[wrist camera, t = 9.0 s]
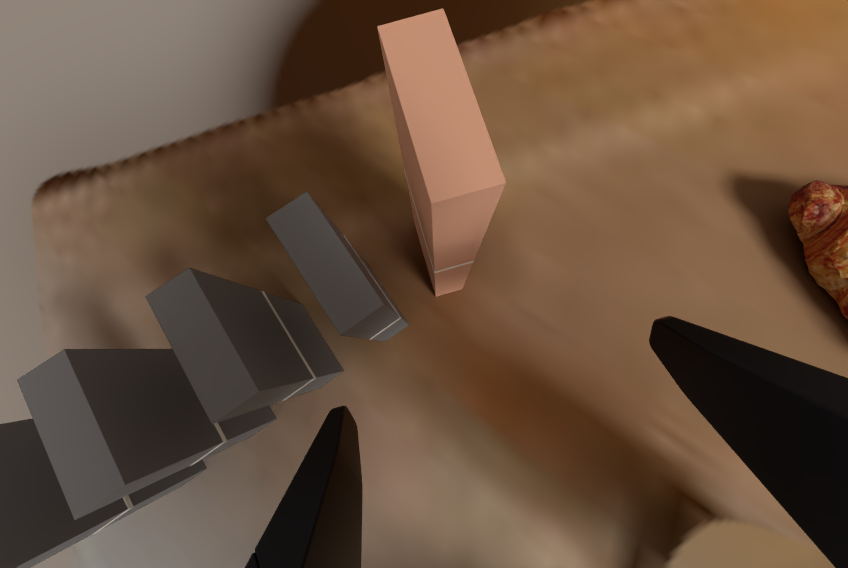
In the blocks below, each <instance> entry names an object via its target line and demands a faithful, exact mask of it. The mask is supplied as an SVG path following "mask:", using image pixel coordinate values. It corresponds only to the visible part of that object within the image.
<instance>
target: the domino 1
mask: <svg viewBox="0 0 848 568" xmlns="http://www.w3.org/2000/svg"><path fill="white" fill-rule="evenodd" d="M17 381H18V384H19V386H20V388H21V391H22V393H23V396H24V398H25V401H26V403H27V406H28V408H29V410H30V413H31V415H32V418H33V420H34V423H35V425H36V427H37V430H38V432H39V435H40V437H41V440H42V442H43V444H44V447H45V449H46V452H47V454H48V457H49V459H50V462H51V464H52V466H53V469H54V471H55V474H56V476H57V479H58V481H59V483H60V486H61V488H62V491H63V493H64V496H65V498H66V500H67V503H68V505H69V508H70V510H71V513H72V515H73V517H74V520H76V519H78V518H80V517H83V516H85V515H87V514H89V513H91V512H93V511H95V510H97V509H99V508H102V507H104V506H106V505H108V504H110V503H112V502H114V501H116V500H118V499H121V498H123V497H125V496H127V495H129V494H131V493H133V492H135V491H137V490H140V489H142V488H144V487H146V486H148V485H150V484H152V483H154V482H156V481H159V480H161V479H163V478H165V477H167V476H169V475H171V474H173V473H175V472H178V471H180V470H182V469H184V468H186V467H188V466H191V465H193V464H195V463H197V462H199V461H201V460H203V459H205V458H207V457H209V456H211V455H213V454H216V453H218V452H220V451H222V450H224V449H226V448H228V447H230V446H232V445H235V444H237V443H239V442H241V441H243V440H245V439H247V438H249V437H251V436H253V435H254V434H256V433H257V432H259V431H260V430H261V429H263V428H264V427H266V426H267V425H268V424H270V423H271V422H273V421H274V420H276V417H275V415H274V413H273V411H272V410H271V408H270V406H269V405H268V406H265V407H262V408H259V409H256V410H253V411H250V412H247V413H244V414H241V415H238V416H235V417H232V418H229V419H226V420H223V421H221V422H218V423H215V424H212V423H211V421H210V420H209V418H208V416H207V414H206V412H205V410H204V408H203V406H202V404H201V402H200V400H199V398H198V397H197V395H196V393H195V391H194V389H193V387H192V385H191V383H190V381H189V379H188V377H187V375H186V374H185V372H184V370H183V368H182V366H181V364H180V362H179V360H178V358H177V356H176V354H175V353H174V351H173V349H64V350H62V351H61V352H59V353H58V354H56V355H55V356H53V357H51V358H50V359H48V360H47V361H45V362H44V363H42V364H41V365H39V366H38V367H36V368H35V369H33V370H31V371H30V372H28V373H27V374H25V375H24V376H22V377H21V378H19V379H18V380H17Z"/></svg>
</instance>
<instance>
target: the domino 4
mask: <svg viewBox="0 0 848 568" xmlns="http://www.w3.org/2000/svg"><path fill="white" fill-rule="evenodd" d="M266 220H267V222H268V223H269V225H270V226H271V228H272V229H273V231H274V232H275V234H276V236H277V237H278V239H279V240H280V242H281V243H282V245H283V247H284V248H285V250H286V251H287V253H288V254H289V256H290V258H291V259H292V261H293V262H294V264H295V265H296V267H297V268H298V270H299V272H300V273H301V275H302V276H303V278H304V279H305V281H306V283H307V284H308V286H309V287H310V289H311V290H312V292H313V293H314V295H315V297H316V298H317V300H318V301H319V303H320V304H321V306H322V308H323V309H324V311H325V312H326V314H327V315H328V317H329V319H330V320H331V322H332V323H333V325H334V326H335V328H336V329H337V331H338V333H339V334H340V335H343V336H350V337H358V338H365V339H369V340H371V339H372V340H380V341H387V340H389V339H390V338H391V337H393V336H394V335H396V334H397V333H398V332H400V331H401V330H403V329H404V328H406V327H407V326H408V325H409V324H408V323H407V321H406V320H405V318H404V317H403V315H402V314H401V312H400V311H399V310H398V308H397V307H396V305H395V304H394V302H393V301H392V299H391V298H390V297H389V295H388V294H387V292H386V291H385V289H384V288H383V286H382V285H381V283H380V282H379V281H378V279H377V278H376V276H375V275H374V273H373V272H372V270H371V269H370V268H369V266H368V265H367V263H366V262H365V260H364V259H363V258H362V257H361V256H360V255H359V253H358V252H357V251H356V250H355V249H354V247H353V246H352V245H351V244H350V243H349V241H348V240H347V239H346V237H345V236H344V235H343V234H342V233H341V232H340V231H339V229H338V228H337V227H336V226H335V225H334V223H333V222H332V221H331V220H330V219H329V217H328V216H327V215H326V214H325V213H324V211H323V210H322V209H321V208H320V207H319V205H318V204H317V203H316V202H315V201H314V199H313V198H312V197H311V196H310V195H309V193H308V192H305V193H303V194H302V195H300V196H299V197H297V198H296V199H294V200H293V201H291V202H290V203H288V204H287V205H285V206H283V207H282V208H280V209H279V210H277V211H276V212H274V213H273V214H271V215H270V216H268V217H267V218H266Z"/></svg>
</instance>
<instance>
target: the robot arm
mask: <svg viewBox="0 0 848 568" xmlns="http://www.w3.org/2000/svg"><path fill="white" fill-rule="evenodd" d="M649 343H650V346H651V348H652V350H653V351H654V352H655V354H656V355H657V357H658V358H659V359H660V361H661V362H662V364H663V365H664V366H665V368H666V369H667V371H668V372H669V373H670V375H671V376H672V378H673V379H674V380H675V382H676V383H677V385H678V386H679V387H680V389H681V390H682V391H683V393H684V394H685V395H686V396H687V398H688V399H689V400H690V401H691V402H692V404H693V405H694V406H695V407H696V408H697V409H698V410H699V412H700V413H701V414H702V415H703V416H704V417H705V418H706V420H707V421H708V422H709V423H710V424H711V425H712V426H713V428H714V429H715V430H716V431H717V432H718V433H719V435H720V436H721V437H722V438H723V439H724V440H725V441H726V443H727V444H728V445H729V446H730V447H731V448H732V449H733V451H734V452H735V453H736V454H737V455H738V456H739V457H740V459H741V460H742V461H743V462H744V463H745V464H746V465H747V467H748V468H749V469H750V470H751V471H752V472H753V474H754V475H755V476H756V477H757V478H758V479H759V480H760V482H761V483H762V484H763V485H764V486H765V487H766V488H767V490H768V491H769V492H770V493H771V494H772V495H773V496H774V498H775V499H776V500H777V501H778V502H779V503H780V505H781V506H782V507H783V508H784V509H785V510H786V511H787V513H788V514H789V515H790V516H791V517H792V518H793V519H794V521H795V522H796V523H797V524H798V525H799V526H800V527H801V529H802V530H803V531H804V532H805V533H806V534H807V535H808V537H809V538H810V539H811V540H812V541H813V542H814V544H815V545H816V546H817V547H818V548H819V549H820V550H821V552H822V553H823V554H824V555H825V556H826V557H827V558H828V560H829V561H830V562H831V563H832V564H833V565H834V566H835V568H848V378H846V377H843V376H840V375H837V374H834V373H832V372H829V371H826V370H823V369H820V368H817V367H815V366H812V365H809V364H806V363H803V362H800V361H798V360H795V359H792V358H789V357H786V356H783V355H780V354H778V353H775V352H772V351H769V350H766V349H763V348H761V347H758V346H755V345H752V344H749V343H746V342H744V341H741V340H738V339H735V338H732V337H729V336H726V335H724V334H721V333H718V332H715V331H712V330H709V329H707V328H704V327H701V326H698V325H695V324H692V323H690V322H687V321H684V320H681V319H678V318H675V317H672V316H667V317H663V318H659V319H656V320H655V321H654V322H653V325H652V329H651V334H650V338H649ZM361 541H362V475H361V463H360V452H359V441H358V430H357V425H356V422H355V420H354V418H353V417H352V415H351V413H350V411H349V410H348V408H347V407H346V406H341V407H337V408H333V409H332V410H331V411H330V412H329V414H328V416H327V417H326V419H325V421H324V423H323V425H322V427H321V428H320V430H319V432H318V434H317V436H316V438H315V439H314V441H313V443H312V445H311V447H310V449H309V451H308V452H307V454H306V456H305V458H304V460H303V462H302V463H301V465H300V467H299V469H298V471H297V473H296V475H295V476H294V478H293V480H292V482H291V484H290V486H289V487H288V489H287V491H286V493H285V495H284V497H283V498H282V500H281V502H280V504H279V506H278V508H277V510H276V511H275V513H274V515H273V517H272V519H271V521H270V522H269V524H268V526H267V528H266V530H265V532H264V534H263V535H262V537H261V539H260V541H259V543H258V545H257V546H256V548H255V553H253V554H252V555H251V557H250V559H249V561H248V563H247V565H246V566H245V568H361Z"/></svg>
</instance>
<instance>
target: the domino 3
mask: <svg viewBox="0 0 848 568" xmlns="http://www.w3.org/2000/svg"><path fill="white" fill-rule="evenodd" d="M145 297H146V299H147V301H148V303H149V305H150V307H151V308H152V310H153V312H154V314H155V316H156V318H157V320H158V322H159V324H160V326H161V328H162V330H163V331H164V333H165V335H166V337H167V339H168V341H169V343H170V345H171V347H172V349H173V351H174V353H175V354H176V356H177V358H178V360H179V362H180V364H181V366H182V368H183V370H184V372H185V374H186V375H187V377H188V379H189V381H190V383H191V385H192V387H193V389H194V391H195V393H196V395H197V397H198V398H199V400H200V402H201V404H202V406H203V408H204V410H205V412H206V414H207V416H208V418H209V420H210V421H211V423H212V424H215V423H218V422H221V421H223V420H226V419H229V418H232V417H235V416H238V415H241V414H244V413H247V412H250V411H253V410H256V409H259V408H262V407H265V406H268V405H271V404H274V403H277V402H280V401H284V400H286V399H289V398H292V397H295V396H298V395H301V394H304V393H307V392H310V391H313V390H315V389H318V388H321V387H322V386H324V385H325V384H326V383H328V382H329V381H331V380H332V379H333V378H335V377H336V376H338V375H339V374H341V373H342V372H343V371H344V370H343V368H342V367H341V365H340V364H339V362H338V360H337V359H336V357H335V356H334V354H333V352H332V351H331V349H330V348H329V346H328V345H327V343H326V341H325V340H324V338H323V337H322V335H321V333H320V332H319V330H318V329H317V327H316V325H315V324H314V322H313V321H312V319H311V317H310V316H309V314H308V313H307V311H306V309H305V308H304V306H303V305H302V304H300V303H297V302H294V301H291V300H288V299H284V298H281V297H278V296H275V295H272V294H269V293H266V292H264V291H262V290H261V291H260V290H257V289H254V288H250V287H247V286H244V285H241V284H238V283H235V282H232V281H229V280H226V279H223V278H220V277H216V276H213V275H210V274H207V273H204V272H201V271H198V270H195V269H192V268H188V269H187V270H185V271H184V272H182V273H180V274H179V275H177V276H176V277H174V278H173V279H171V280H170V281H168V282H167V283H165V284H164V285H162V286H160V287H159V288H157V289H156V290H154V291H153V292H151V293H150V294H148V295H147V296H145Z"/></svg>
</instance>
